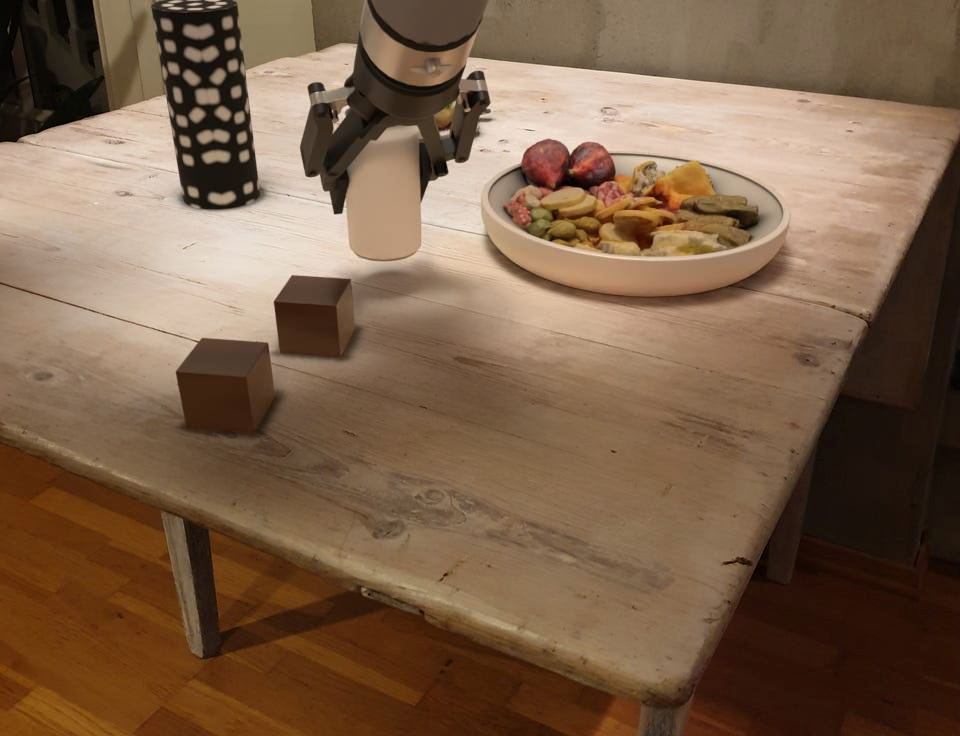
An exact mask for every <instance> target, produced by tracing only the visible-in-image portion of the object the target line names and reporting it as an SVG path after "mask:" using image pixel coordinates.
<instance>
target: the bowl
mask: <svg viewBox="0 0 960 736" xmlns="http://www.w3.org/2000/svg"><path fill="white" fill-rule="evenodd" d="M791 212H792V211H791V208H790V205H789V204H788V202H787V200H786V199H785V198H784V197H783V196H782V195H781V194H780V192H778V191H777V190H776V189H774V188H773V187H772V186H770V185H769V184H767V183H765V182H763V181H762V180H760V179H757V178H756V177H754V176H752V175H749V174H747V173H745V172H743V171H739V170H737V169H734V168H730V167H728V166H724V165H721V164H717V163H715V162H710V161H705V160H701V159H696V158H692V157H685V156H680V155H673V154H665V153H657V152H648V151H647V152H646V151H630V150H608V149H606V147H605V146H604V145H602V144H601V143H599V142H595V141H585V142H582V143H581V144H579V145H577V147H575V148H574V149H573V150H572V152H570V151H569V149H568V147H567V146H566V145H565V144H564V143H562V142H561V141H559V140H556V139H552V138H546V139H543V140H540V141H537V142H536V143H534V144H532V145H531V146H529V147H528V148H526V149H525V151H524V153H523V154H522V159H521V161H520V162H519V163H517V164H514V165H512V166H509V167H508V168H505V169H503V170H502V171H499V172H497V174H495V175H494V176H492V177H491V178H490V179H489V180H488V181H487V182H486V184H485V185H484V186H483V188H482V190H481V194H480V214H481V219H482V222H483V226H484V229H485V231H486V233H487V235H488V237H489V238H490V240H491V242H492V243H493V244H494V245H495V247H497V249H498V250H499V251H500V252H501V253H502V254H503V255H504V256H505V257H506V258H507V259H509V260H510V261H511V262H513V263H515V264H516V265H517V266H519V267H520V268H523V269H524V270H526V271H528V272H530V273H531V274H534V275H535V276H538V277H540V278H542V279H545V280H548V281H551V282H553V283H557V284H559V285H563V286H567V287H570V288H574V289H578V290H582V291H586V292H593V293H597V294H598V293H599V294H606V295H614V296H623V297H643V298H645V297H647V298H648V297H649V298H650V297H653V298H657V297H677V296H686V295H694V294H699V293H704V292H709V291H713V290H717V289H721V288H724V287H727V286H730V285H733V284H735V283H738V282H740V281H743V280H744V279H746V278H748V277H750V276H752V275H754V274H755V273H756V272H758V271H760V270H761V269H762V268H764V267H765V266H766V265H767V264H768V263H769V262H770V261H772V259H774V257H775V256H776V254H777V253H778V252H779V251H780V249H781V247H782V246H783V244H784V242H785V240H786V237H787V235H788V231H789V228H790V224H791V223H790V222H791V218H792V214H791Z"/></svg>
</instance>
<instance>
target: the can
mask: <svg viewBox="0 0 960 736" xmlns="http://www.w3.org/2000/svg"><path fill="white" fill-rule="evenodd" d="M350 111H351V108H350V107H349V108H347V109H346V110H345V111H344V115H345V117H346V116H347V114H348V113H349V112H350ZM347 171H348V176H349V183H348V188H347V192H346V198H345V208H346V222H347V236H348V245H349V249H350V250H351V251H352V252H353V253H354V255H356V256H357V257H359V258H360V259H363V260H367V261H371V262H395V261H400V260H405V259H408V258H410V257H412V256H414V255H415V254H416V253H417V252H418V251H419V250H420V248H421V247H422V207H421V206H422V202H421V197H420V162H419V135H418V128H417V126H416V125H414V126H401V125H398V126H394V127H389V128H387V129H386V130H385V131H384V132H383V133H382V135H381V136H380V137H379V138H378V139H377V140H376V141H373V140H370V141H369V143H368V144H367V145H366V146H365V147H364V149H363V150H362V151H361V152H360V153H359V155H358V156H357V157H356V158H355V159H354V160H353V162H352V163H351V164H350V165H349V166H348V168H347Z"/></svg>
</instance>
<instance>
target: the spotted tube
mask: <svg viewBox="0 0 960 736" xmlns="http://www.w3.org/2000/svg"><path fill="white" fill-rule="evenodd" d="M150 7H151V14H152V19H153V20H152V21H153V27H154V32H155V38H156V45H157V50H158V56H159V57H158V58H159V62H160V68H161V74H162V80H163V87H164V92H165V98H166V105H167V111H168V117H169V123H170V129H171V136H172V141H173V146H174V154H175V160H176V164H177V171H178V176H179V184H180V190H181V194H182V195H181V196H182V200H183V203H185V204H186V205H187V206H189V207H192V208H195V209H201V210H209V211H211V210H212V211H213V210H214V211H215V210H216V211H217V210H219V211H220V210H230V209H236V208H241V207H244V206H247V205H250V204H252V203H253V202H255V201H257V200H258V199H259V198H260V196H261V190H260V181H259V175H258V166H257V165H258V163H257V156H256V149H255V142H254V141H255V139H254V131H253V123H252V114H251V106H250V105H251V104H250V97H249V89H248V83H247V82H248V80H247V74H246V64H245V55H244V46H243V40H242V32H241V22H240V13H239V6H238V2H237V1H236V0H158V1H155V2H153V3H151V5H150Z"/></svg>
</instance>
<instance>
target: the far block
mask: <svg viewBox="0 0 960 736" xmlns="http://www.w3.org/2000/svg"><path fill="white" fill-rule="evenodd" d="M273 308H274V314H275V315H274V317H275V324H276V333H277V341H278V347H279V348H278V349H279V350H278V351H279V354H282V355H283V354H286V355H299V356H312V357H326V358H337V359H338V358H339V359H340V358H342V355H343V353H344V351H345V350H346V347H347V346H348V344H349V342H350V340H351V337H352V336H353V333H354V332H355V329H356V324H355V311H354V310H355V309H354V297H353V282H352V278H345V277H344V278H343V277H329V276H311V275H298V274H296V275H295V274H291V276H290V277H289V278H288V280H287V281H286V283H285V284H284V286H283V287H282V289H280V291H279V293H278V294H277V296H276V298H274V300H273Z"/></svg>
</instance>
